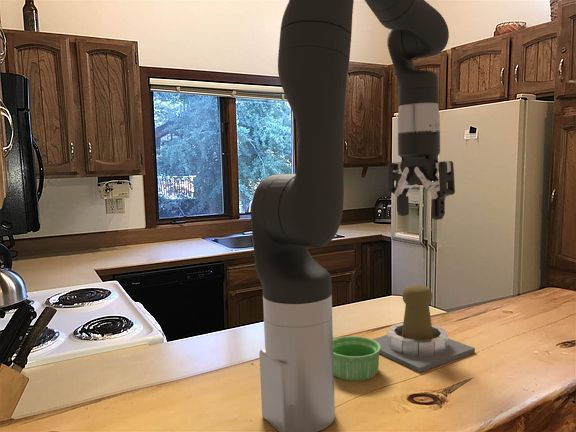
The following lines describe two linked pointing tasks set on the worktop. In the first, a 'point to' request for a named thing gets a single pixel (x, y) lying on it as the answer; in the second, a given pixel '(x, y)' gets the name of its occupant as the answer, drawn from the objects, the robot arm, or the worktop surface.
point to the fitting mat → (427, 362)
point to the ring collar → (417, 342)
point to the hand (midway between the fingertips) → (419, 217)
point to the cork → (417, 313)
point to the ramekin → (355, 358)
